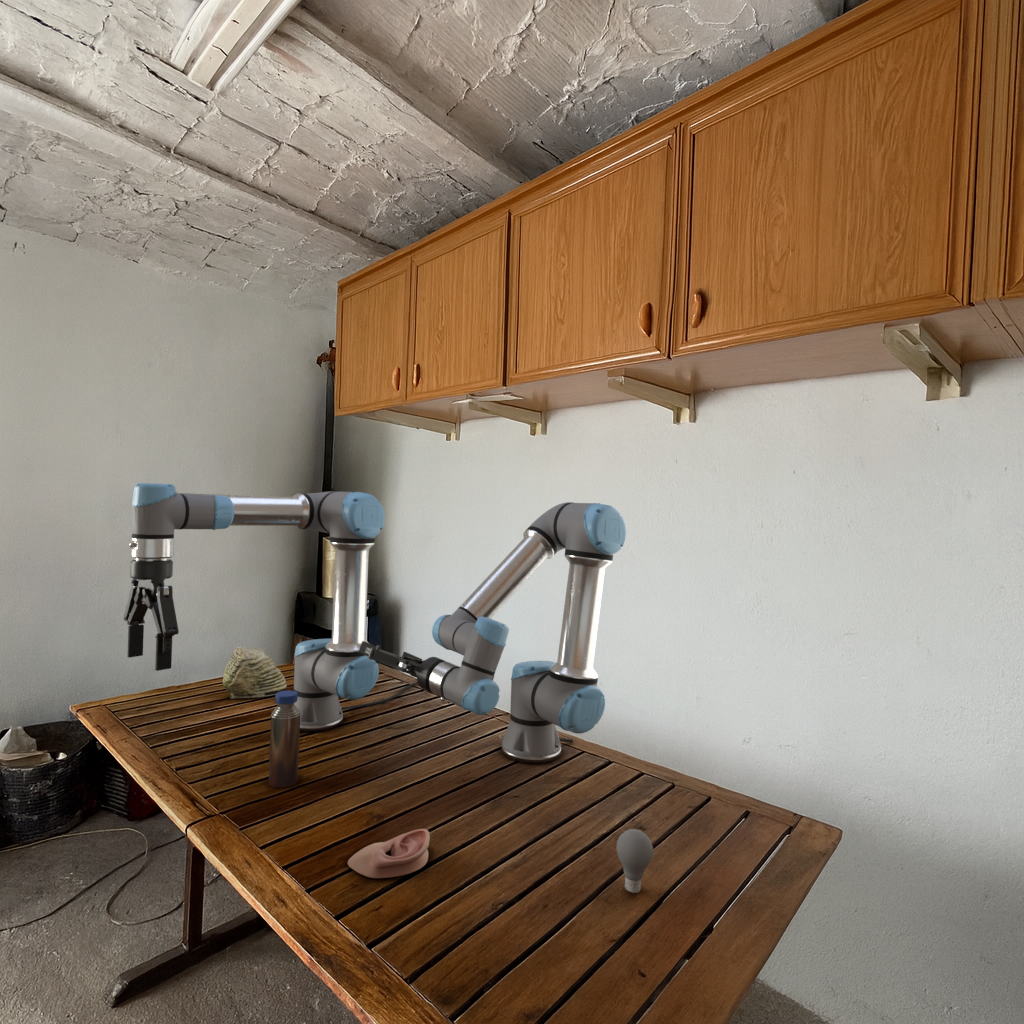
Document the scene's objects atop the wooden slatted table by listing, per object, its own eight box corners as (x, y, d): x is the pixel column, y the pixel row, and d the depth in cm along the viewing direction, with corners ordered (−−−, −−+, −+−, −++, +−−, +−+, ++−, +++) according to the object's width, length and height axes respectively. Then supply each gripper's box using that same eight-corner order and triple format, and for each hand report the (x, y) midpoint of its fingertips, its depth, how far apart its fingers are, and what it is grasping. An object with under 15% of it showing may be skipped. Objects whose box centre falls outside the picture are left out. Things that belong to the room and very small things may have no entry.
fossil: (218, 695, 195) (220, 647, 195) (278, 685, 208) (279, 640, 207) (228, 703, 189) (230, 653, 188) (289, 692, 201) (290, 645, 201)
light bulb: (610, 879, 108) (613, 822, 108) (644, 879, 109) (647, 822, 109) (619, 902, 102) (622, 840, 102) (655, 901, 103) (658, 840, 103)
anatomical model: (339, 849, 107) (368, 816, 118) (339, 872, 107) (367, 837, 118) (414, 862, 104) (436, 827, 115) (413, 885, 104) (435, 848, 116)
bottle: (303, 781, 140) (306, 695, 140) (276, 790, 136) (279, 701, 135) (289, 772, 144) (292, 689, 144) (263, 780, 140) (266, 694, 140)
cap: (301, 701, 140) (301, 694, 140) (281, 706, 137) (281, 698, 137) (291, 696, 143) (291, 689, 143) (271, 700, 140) (271, 692, 140)
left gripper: (108, 554, 134) (104, 654, 134) (159, 565, 118) (155, 678, 119) (146, 552, 140) (143, 648, 140) (199, 563, 124) (195, 671, 124)
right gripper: (393, 685, 131) (336, 657, 145) (470, 701, 149) (413, 675, 163) (405, 650, 133) (348, 626, 147) (481, 670, 151) (423, 646, 165)
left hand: (148, 662), depth 129 cm, fingers open, 13 cm apart
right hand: (382, 651), depth 155 cm, fingers open, 13 cm apart
